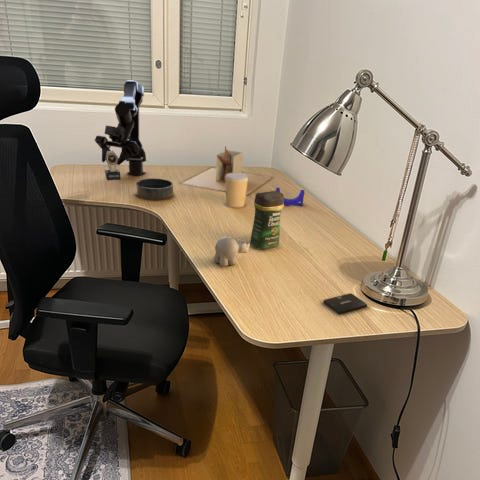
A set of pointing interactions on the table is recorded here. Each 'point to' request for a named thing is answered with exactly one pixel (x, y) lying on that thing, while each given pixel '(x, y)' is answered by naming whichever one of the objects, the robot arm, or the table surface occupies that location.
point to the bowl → (154, 189)
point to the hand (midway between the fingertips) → (110, 163)
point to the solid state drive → (345, 303)
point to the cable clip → (295, 200)
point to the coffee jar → (267, 219)
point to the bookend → (225, 165)
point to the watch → (112, 166)
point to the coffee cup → (236, 189)
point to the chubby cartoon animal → (229, 250)
